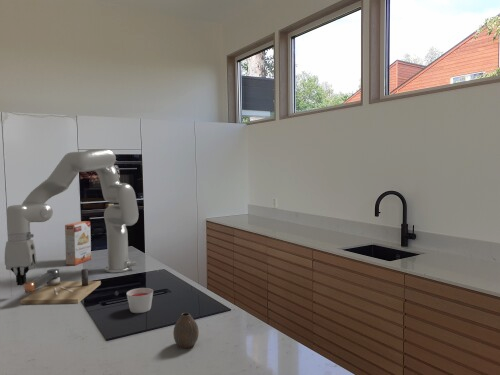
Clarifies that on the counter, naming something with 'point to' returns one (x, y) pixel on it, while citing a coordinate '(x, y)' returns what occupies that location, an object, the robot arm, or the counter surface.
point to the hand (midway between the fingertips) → (21, 284)
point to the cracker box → (77, 242)
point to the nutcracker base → (62, 291)
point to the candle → (140, 300)
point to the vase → (185, 331)
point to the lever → (41, 280)
